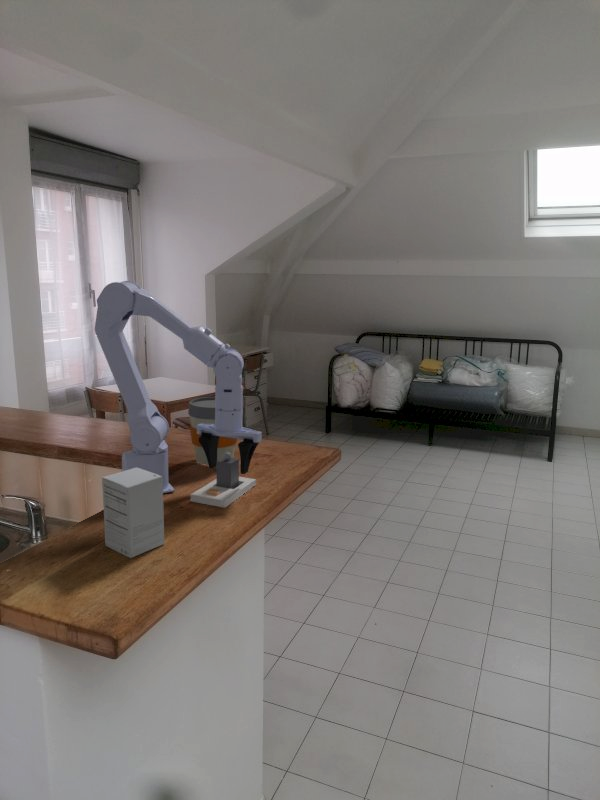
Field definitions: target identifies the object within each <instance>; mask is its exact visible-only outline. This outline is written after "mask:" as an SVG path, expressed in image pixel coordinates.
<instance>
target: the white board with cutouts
mask: <svg viewBox="0 0 600 800" xmlns="http://www.w3.org/2000/svg"><path fill="white" fill-rule="evenodd" d="M255 485H256V486H257V479H256V478H250V477H243V476H239V486H238V487H236V488H235V489H230V488H224V487H218V486H217V478H215V479H213V480H212V481H210V482H209V483H207V484H205V485H204V486H202V487H201V488H198V489H197V490H195V491H194V492H191V493H190V494H189V495H190V502H192V503H198V504H203V505H208V506H214V507H218V508H223V509H225V508H227V507H228V506H229V505H230V506H231V504H232V503H234V502H235V501H237V500H238V499H240V498H241V497H243V496H244V495H245V494H247V493H248V492H249V491H251V490H252V489H253V488H252V487H253V486H255ZM256 486H255V487H256ZM251 488H252V489H251ZM250 489H251V490H250ZM248 490H249V491H248ZM247 491H248V492H247ZM246 492H247V493H246ZM244 493H245V494H244ZM243 494H244V495H243ZM239 497H240V498H239ZM236 499H237V500H236Z"/></svg>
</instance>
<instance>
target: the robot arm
mask: <svg viewBox="0 0 600 800" xmlns="http://www.w3.org/2000/svg"><path fill="white" fill-rule="evenodd" d="M96 304H97V305H96V306H97V309H96V316H95V323H94V332H95V335H96V338H97V340H98V342H99V345H100V348H101V350H102V352H103V354H104V357H105V359H106V361H107V362H106V363H107V364H108V367H109V369H110V372H111V374H112V376H113V379H114V381H115V384H116V387H117V388H118V391H119V393H120V395H121V398H122V400H123V403H124V405H125V407H126V410H127V425H128V427H129V430H130V433H129V434H130V435H129V441H130V445H131V446H132V449H130V450H129V451H124V452H122V454H121V472H122V471H126V470H129V469H132V468H136V467H137V468H140V469H143V470H146V471H149V472H152V473H155V474H157V475H160V476H162V480H163V494H166V493H172V492H175V489H174V487H173V486H172V484H171V483H170V482H169V448H168V447H169V445H168V444H167V442H166V440H165V438H166V437H167V436H168V434H169V431H170V425H169V422H168V420H167V419H166V418H165V416H163V415H162V414H161V413H160V412H159V409H158V407H157V405H155V403H154V402H153V401H152V400H151V398H150V395H149V393H148V391H147V388H146V385H145V383H144V380H143V378H142V376H141V373H140V371H139V367H138V365H137V363H136V361H135V359H134V356H133V353H132V351H131V348H130V346H129V344H128V343H129V342H128V341H127V338H126V336H125V333H124V329H125V327H126V326H127V323H128V322H129V320H130V317H131V316H141V317H143V316H144V317H150V318H151V319H152V320H154V321H155V322H157V323H158V324H159V325H161V326H162V327H164V328H165V329H166V330H168V331H170V332H171V333H173V334H174V335H176V337H178V338H179V339H181V340H182V342H183V343H182V344H183V348H184V349H183V350H185V351H187V353H188V352H189V353H190V354H191V355H192V356H194V357H195V358H196V359H198V361H200V362H201V363H203V364H204V365H205V366H206V367H208V368H212V371H213V374H214V375H215V378H216V379H215V381H216V382H215V387H214V391H215V392H214V393H215V395H214V397H215V424H203V423H201V424H199V425H197V434H201V437H199V438H198V440H199V443H200V444H201V446H202V448H203V450H204V452H205V454H206V457H207V461H208V464H209V467H208V468H209V469H210V470H213V469H214V468H216V461H217V448H218V441H219V436H222V437H228V438H235V439H238V440H242V441H240V442H239V443H238V442H237V447H238V451H239V455H240V457H239V458H240V459H239V460H240V464H239V471H240V474H241V475H245V474H247V473H248V472H249V468H250V464H251V460H252V459H253V455H254V453H255V452H256V449H257V446H258V445H259V443H260V442H261V441H262V437H263V436H262V434H263V433H262V431H258V430H254V429H252V428H248V427H244V426H243V411H244V410H243V409H244V408H243V406H244V405H243V404H244V403H243V401H244V400H243V392H244V387H243V385H242V384H243V375H242V373H243V369H244V367H245V363H244V358H243V357H242V355H241V354H240V352H239V351H238V350H237V349H234V348H231V345H230V344H229V343H226V344H225V343H224V342H223V341H221V340H219V339H218V337H216V336H215V335H213V334H212V332H213V330H212V329H210V328H209V327H206V328H204V327H202V326H191V325H190V324H189V323H188V322H186V321H185V319H183V318H182V317H181V316H179V315H178V314H177V313H176V312H174V311H173V310H172V309H171V308H170V307H169V306H167V305H166V304H165V303H163V302H162V301H161V300H160V299H159V298H158V297H156V296H155V295H154V294H152V293H151V292H150V291H148V290H146V289H145V288H141V286H140V285H139V284H137V282H134V281H131V280H124V281H120V282H119V281H117V282H116V281H114V282H110V283H108V284H107V285H105V287H104V288H103V289H102V290H101V292H100V294H99V295H98V297H97V298H96Z"/></svg>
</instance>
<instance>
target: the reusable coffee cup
mask: <svg viewBox="0 0 600 800" xmlns="http://www.w3.org/2000/svg"><path fill="white" fill-rule="evenodd" d="M188 416H189V418H190V419H189V420H190V423H189V431H190V437H191V439H190V440H191V444H192V445H193V449H194V455H195V460H196V461H197V462H199V463H202V464H206V465H209V464H208V461H207V457H206V454H205V452H204V450H203V448H202V446H201V444H200V443H199V440H198V438H199V437H201V434H197V425H199V424H201V423H203V424H215V396H207V397H206V396H204V397H203V396H202V397H198V398H194V399H191V400H189V402H188ZM238 440H239V439H235V438H228V437H222V436H219V441H218V448H217V461H218V460H219V459H221V458H223V457H225V453H227V452H229V453H231V458H235V457H234V455H235V449H236V444H238ZM196 461H195V462H196ZM197 462H196V463H197Z"/></svg>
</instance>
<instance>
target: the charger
mask: <svg viewBox="0 0 600 800" xmlns="http://www.w3.org/2000/svg"><path fill="white" fill-rule="evenodd" d="M215 468H216V475H215V476H216V479H217V486H218V487H224V488H230V489H235V488H236V487H238V486H239V477H240V459H239V458H235V457H234V458H231V453H229V452H227V453H225V457H223V458H221V459H219V460H218V461H216V467H215Z"/></svg>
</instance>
